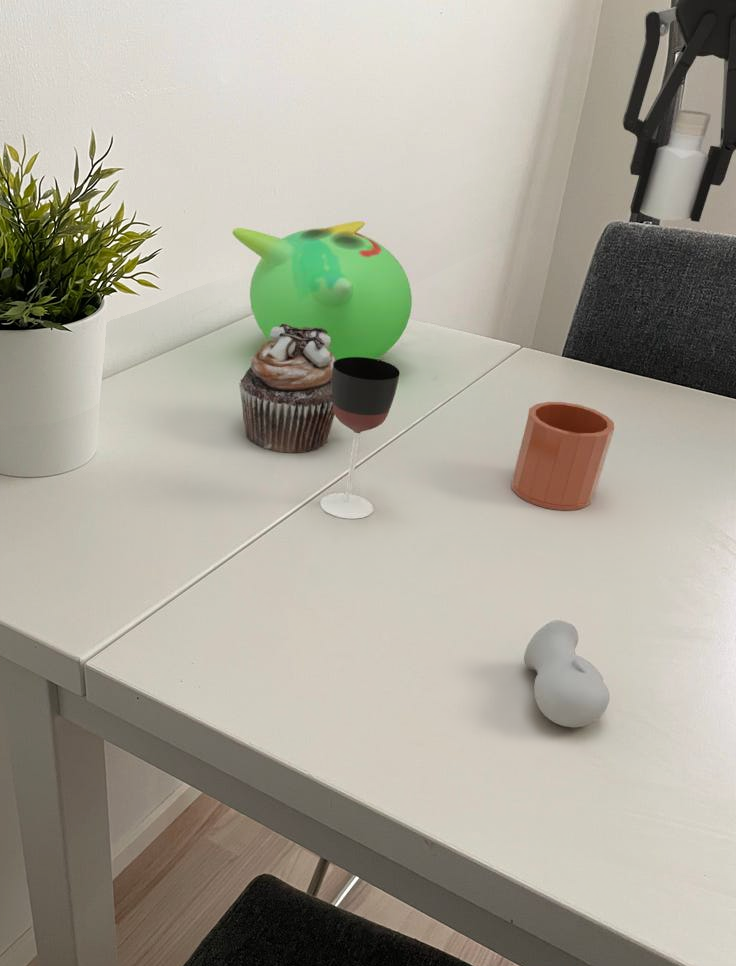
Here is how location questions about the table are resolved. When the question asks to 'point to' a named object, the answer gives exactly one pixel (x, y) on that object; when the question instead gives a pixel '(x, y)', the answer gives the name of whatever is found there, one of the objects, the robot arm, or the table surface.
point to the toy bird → (330, 287)
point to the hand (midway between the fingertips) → (664, 214)
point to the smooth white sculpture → (565, 677)
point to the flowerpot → (561, 455)
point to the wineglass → (359, 417)
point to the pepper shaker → (677, 169)
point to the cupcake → (290, 391)
